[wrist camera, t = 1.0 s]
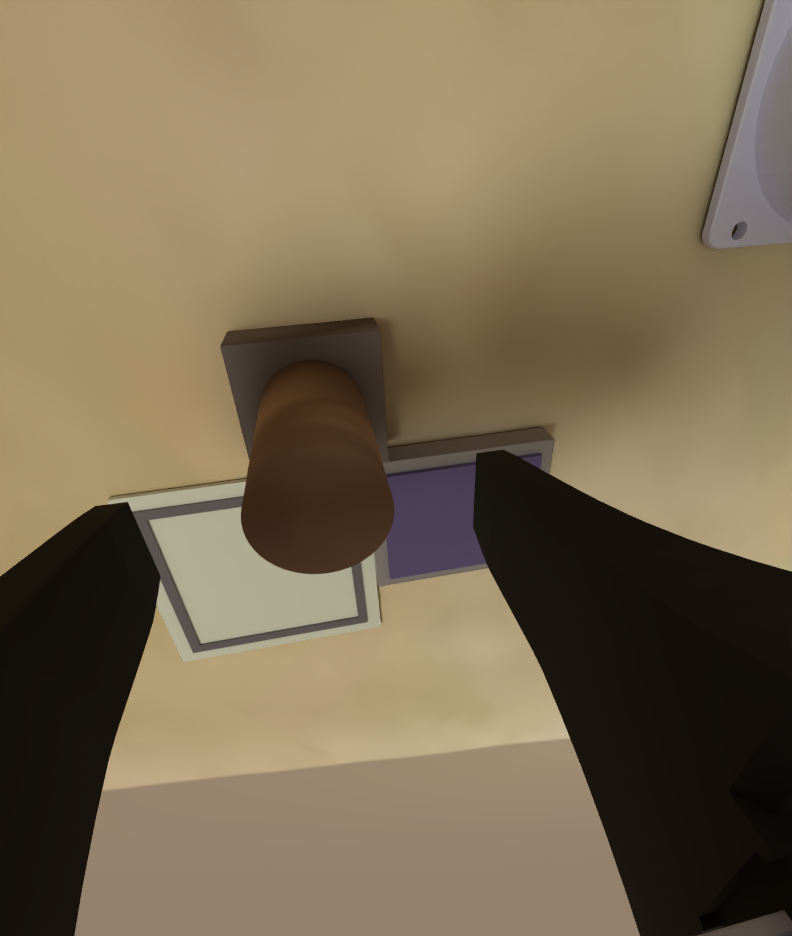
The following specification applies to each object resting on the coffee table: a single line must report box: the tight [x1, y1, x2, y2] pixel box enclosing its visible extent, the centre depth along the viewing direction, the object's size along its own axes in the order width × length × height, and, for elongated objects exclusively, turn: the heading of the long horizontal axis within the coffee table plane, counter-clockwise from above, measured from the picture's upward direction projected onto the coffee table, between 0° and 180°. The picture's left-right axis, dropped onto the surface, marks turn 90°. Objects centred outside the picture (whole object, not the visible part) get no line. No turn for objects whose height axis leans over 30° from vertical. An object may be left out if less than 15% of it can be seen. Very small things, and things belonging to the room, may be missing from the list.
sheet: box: [107, 479, 381, 662], centre depth 19 cm, size 9×9×1 cm
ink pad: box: [374, 427, 554, 587], centre depth 19 cm, size 7×6×1 cm
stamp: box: [220, 318, 394, 574], centre depth 13 cm, size 4×4×7 cm
